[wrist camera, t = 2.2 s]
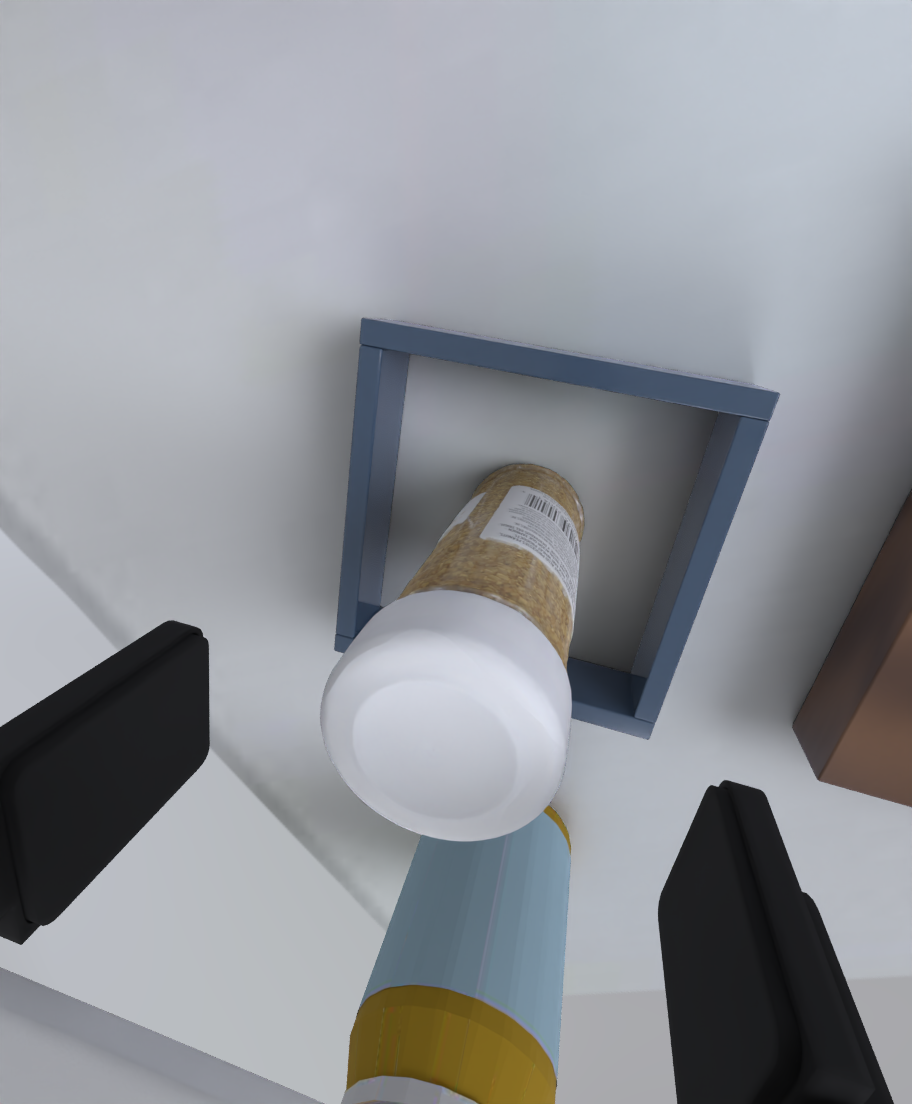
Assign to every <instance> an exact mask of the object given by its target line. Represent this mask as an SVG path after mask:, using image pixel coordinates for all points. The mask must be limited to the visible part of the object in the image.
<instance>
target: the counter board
mask: <svg viewBox="0 0 912 1104" xmlns="http://www.w3.org/2000/svg"><path fill="white" fill-rule="evenodd" d="M792 728H793V730H794V732H795V734H796V736H797V738H798V741H799V743H800V745H801V747H802V749H803V751H804V753H805V755H806V757H807V759H808V761H809V763H810V765H811V768H812V770H813V772H814V774H815V776H816V778H817V780H819V781H821V782H825V783H828V784H832V785H835V786H839V787H842V788H846V789H849V790H853V791H857V792H860V793H864V794H867V795H871V796H874V797H878V798H881V799H885V800H888V801H892V802H895V803H899V804H903V805H906V806H910V807H912V490H911V492H910V494H909V496H908V498H907V500H906V502H905V504H904V506H903V507H902V509H901V511H900V513H899V515H898V517H897V519H896V521H895V523H894V525H893V527H892V529H891V531H890V533H889V535H888V537H887V539H886V541H885V543H884V545H883V547H882V549H881V551H880V553H879V555H878V557H877V559H876V561H875V563H874V565H873V567H872V569H871V571H870V573H869V575H868V577H867V579H866V581H865V583H864V585H863V587H862V589H861V591H860V593H859V595H858V597H857V599H856V601H855V603H854V605H853V607H852V609H851V611H850V613H849V615H848V617H847V619H846V621H845V623H844V625H843V627H842V629H841V631H840V633H839V635H838V637H837V638H836V640H835V642H834V644H833V646H832V648H831V650H830V652H829V654H828V656H827V658H826V660H825V662H824V664H823V666H822V668H821V670H820V672H819V674H818V676H817V678H816V680H815V682H814V684H813V686H812V688H811V690H810V692H809V694H808V696H807V698H806V700H805V702H804V704H803V706H802V708H801V710H800V712H799V714H798V716H797V718H796V720H795V722H794V724H793V726H792Z"/></svg>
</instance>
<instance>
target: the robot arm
mask: <svg viewBox="0 0 912 1104" xmlns="http://www.w3.org/2000/svg"><path fill="white" fill-rule="evenodd" d="M209 746H210V741H209V644H208V640H207V639H206V638H204V637H203V633H202V631H201V629H199V628H197V627H194V626H191V625H187V624H184V623H180V622H177V621H167V622H164V623H163V624H161V625H160V626H158V627H156V628H155V629H153V630H152V631H150V632H149V633H147V634H145V635H144V636H142V637H141V638H139V639H138V640H136V641H134V642H133V643H131V644H130V645H128V646H127V647H125V648H123V649H122V650H120V651H119V652H117V653H116V654H114V655H112V656H111V657H109V658H108V659H106V660H105V661H103V662H102V663H100V664H98V665H97V666H95V667H94V668H92V669H91V670H89V671H87V672H86V673H84V674H83V675H81V676H80V677H78V678H76V679H75V680H73V681H72V682H70V683H69V684H67V685H65V686H64V687H62V688H61V689H59V690H58V691H56V692H54V693H53V694H51V695H50V696H48V697H47V698H45V699H44V700H42V701H40V702H39V703H37V704H36V705H34V706H32V707H31V708H29V709H28V710H26V711H25V712H23V713H22V714H20V715H18V716H17V717H15V718H14V719H12V720H10V721H9V722H7V723H6V724H4V725H3V726H1V727H0V936H1V937H3V938H6V939H8V940H11V941H13V942H16V943H18V944H20V945H22V944H23V943H24V942H25V941H26V940H27V939H28V938H29V937H30V936H31V935H32V934H33V932H34V931H35V930H36V929H37V928H38V927H39V926H40V925H42V926H44V925H48V924H50V923H51V922H53V921H54V920H55V919H56V918H57V917H58V916H59V915H60V914H61V913H62V912H63V911H64V910H65V909H66V908H67V907H68V906H69V905H70V904H71V903H72V902H73V901H74V899H75V898H76V897H77V896H78V895H79V894H80V893H81V892H82V891H83V890H84V889H85V888H86V887H87V886H88V885H89V884H90V882H92V881H93V880H94V878H95V877H96V876H97V875H98V874H99V873H100V872H101V871H102V870H103V869H104V868H105V867H106V866H107V865H108V863H110V862H111V860H112V859H113V858H114V857H115V856H116V855H117V854H118V853H119V852H120V851H121V850H122V849H123V848H124V847H125V846H126V845H127V844H128V842H129V841H130V840H131V839H132V838H133V837H134V836H135V835H136V834H137V833H138V832H139V831H140V830H141V829H142V828H143V827H144V826H145V824H146V823H147V822H148V821H149V820H150V819H151V818H152V817H153V816H154V815H155V814H156V813H157V812H158V811H159V810H160V809H161V808H162V807H163V806H164V804H165V803H166V802H167V801H168V800H169V799H170V798H171V797H172V796H173V795H174V794H175V793H176V792H177V791H178V790H179V789H180V788H181V786H182V785H183V784H184V783H185V782H186V781H187V780H188V779H189V778H190V777H191V776H192V775H193V774H194V773H195V772H196V771H197V770H198V769H199V767H200V766H201V765H202V764H203V762H204V760H205V759H206V757H207V755H208V751H209ZM658 922H659V932H660V941H661V951H662V960H663V970H664V980H665V989H666V998H667V1008H668V1018H669V1028H670V1036H671V1047H672V1056H673V1066H674V1076H675V1085H676V1094H677V1104H894V1103H893V1100H892V1097H891V1095H890V1092H889V1090H888V1087H887V1085H886V1082H885V1080H884V1077H883V1074H882V1072H881V1069H880V1067H879V1064H878V1062H877V1059H876V1056H875V1054H874V1051H873V1049H872V1046H871V1044H870V1041H869V1038H868V1036H867V1033H866V1031H865V1028H864V1026H863V1023H862V1020H861V1018H860V1016H859V1013H858V1010H857V1008H856V1005H855V1002H854V1000H853V998H852V995H851V992H850V990H849V987H848V985H847V982H846V979H845V977H844V974H843V972H842V969H841V967H840V964H839V961H838V959H837V956H836V954H835V951H834V949H833V946H832V943H831V941H830V938H829V936H828V933H827V931H826V928H825V926H824V923H823V920H822V918H821V915H820V913H819V910H818V908H817V906H816V904H815V903H814V901H813V899H812V898H811V897H810V896H809V895H808V894H807V893H804V892H802V891H801V888H800V886H799V883H798V880H797V878H796V875H795V872H794V870H793V867H792V864H791V862H790V859H789V856H788V853H787V851H786V848H785V845H784V843H783V840H782V837H781V835H780V832H779V829H778V827H777V824H776V821H775V819H774V816H773V813H772V811H771V808H770V805H769V802H768V800H767V797H766V795H765V794H764V792H763V791H761V790H759V789H756V788H752V787H749V786H745V785H742V784H738V783H735V782H731V781H728V780H724V781H723V782H722V783H721V784H720V785H719V787H716V786H713V785H711V786H709V787H708V788H707V790H706V792H705V794H704V797H703V799H702V801H701V804H700V806H699V808H698V810H697V813H696V815H695V817H694V820H693V822H692V824H691V826H690V829H689V831H688V833H687V836H686V838H685V840H684V842H683V845H682V847H681V849H680V851H679V854H678V856H677V858H676V861H675V863H674V865H673V867H672V870H671V872H670V874H669V877H668V879H667V881H666V883H665V886H664V888H663V890H662V893H661V896H660V900H659V906H658ZM0 1104H324V1103H322V1102H320V1101H317V1100H315V1099H313V1098H310V1097H308V1096H306V1095H303V1094H301V1093H298V1092H296V1091H294V1090H292V1089H289V1088H287V1087H284V1086H282V1085H280V1084H277V1083H275V1082H273V1081H270V1080H268V1079H265V1078H263V1077H261V1076H259V1075H256V1074H254V1073H252V1072H249V1071H247V1070H244V1069H242V1068H240V1067H237V1066H235V1065H233V1064H230V1063H228V1062H225V1061H223V1060H221V1059H218V1058H216V1057H214V1056H211V1055H209V1054H207V1053H204V1052H202V1051H199V1050H197V1049H195V1048H192V1047H190V1046H187V1045H185V1044H183V1043H180V1042H178V1041H176V1040H173V1039H171V1038H169V1037H166V1036H164V1035H161V1034H159V1033H157V1032H154V1031H152V1030H150V1029H147V1028H145V1027H142V1026H140V1025H138V1024H135V1023H133V1022H130V1021H128V1020H126V1019H123V1018H121V1017H119V1016H116V1015H114V1014H111V1013H109V1012H107V1011H104V1010H102V1009H99V1008H97V1007H95V1006H92V1005H90V1004H87V1003H85V1002H82V1001H80V1000H78V999H75V998H73V997H71V996H68V995H65V994H63V993H61V992H58V991H56V990H54V989H51V988H49V987H46V986H44V985H42V984H39V983H37V982H34V981H32V980H30V979H27V978H25V977H22V976H20V975H17V974H15V973H13V972H10V971H8V970H5V969H3V968H1V967H0Z"/></svg>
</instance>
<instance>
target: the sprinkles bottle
mask: <svg viewBox="0 0 912 1104" xmlns="http://www.w3.org/2000/svg"><path fill="white" fill-rule="evenodd" d="M583 530H584V513H583V507H582V505H581V503H580V501H579V498H578V496H577V494H576V493H575V491H574V490H573V488H572V486H571V485H570V484H569V483H568V482H567V481H566V480H565V479H564V478H562V477H561V476H560V475H558V474H557V473H556V472H554V471H552V470H550V469H547V468H544V467H541V466H536V465H534V464H514V465H509V466H506V467H503V468H501V469H499V470H497V471H495V472H494V473H492V474H490V475H489V476H488V477H487V478H486V479H485V480H484V481H483V482H482V483H481V484H480V485H479V486H478V487H477V488H476V490H475V491H474V493H473V495H472V498H471V500H470V502H468V503H467V504H466V505H465V506H464V508H463V509H462V510H461V511H460V512H459V514H458V515H457V516H456V517H455V519H454V520H453V521H452V523H451V524H450V526H449V527H448V528H447V529H446V531H445V532H444V534H443V535H442V536H441V538H440V539H439V541H438V542H437V544H436V547H435V549H434V550H433V552H432V553H431V555H430V556H429V557H428V558H427V560H426V561H425V563H424V564H423V565H422V567H421V568H420V569H419V570H418V572H417V573H416V575H415V576H414V577H413V579H412V580H411V581H410V582H409V583H408V585H407V586H406V588H405V589H404V591H403V593H402V594H401V595H400V597H399V598H398V599H397V600H396V601H394V602H392V603H390V604H389V605H387V606H386V607H384V608H383V609H381V610H380V611H379V612H378V613H377V614H375V615H374V616H373V617H372V618H371V620H370V621H369V622H368V623H367V624H366V625H365V626H364V628H363V629H362V630H361V632H360V633H359V634H358V635H357V637H356V638H355V639H354V640H353V642H352V643H351V644H350V646H349V647H348V649H347V650H346V651H345V653H344V654H343V656H342V657H341V658H340V660H339V661H338V663H337V664H336V666H335V667H334V669H333V670H332V672H331V674H330V676H329V678H328V681H327V683H326V686H325V689H324V693H323V696H322V702H321V712H320V719H321V729H322V735H323V739H324V743H325V746H326V749H327V752H328V754H329V757H330V759H331V761H332V762H333V764H334V766H335V768H336V769H337V771H338V773H339V775H340V776H341V777H342V779H343V780H344V781H345V783H346V784H347V785H348V786H349V787H350V789H351V790H352V791H353V792H354V793H355V794H356V795H357V796H358V797H359V798H360V799H361V800H362V801H363V802H364V803H365V804H366V805H368V806H369V807H370V808H372V809H373V810H374V811H376V812H377V813H378V814H380V815H381V816H383V817H384V818H386V819H388V820H390V821H391V822H393V823H395V824H397V825H399V826H401V827H403V828H405V829H408V830H410V831H413V832H415V833H418V834H422V835H425V836H429V837H433V838H437V839H443V840H450V841H480V840H486V839H492V838H497V837H500V836H503V835H506V834H509V833H511V832H514V831H516V830H518V829H520V828H522V827H523V826H525V825H527V824H528V823H530V822H531V821H532V820H534V819H535V818H536V817H537V816H539V815H540V814H541V813H542V812H543V811H544V809H545V808H546V807H547V806H548V805H549V804H550V802H551V800H552V799H553V797H554V795H555V794H556V792H557V790H558V788H559V786H560V783H561V781H562V778H563V775H564V770H565V766H566V759H567V751H568V744H569V736H570V726H571V711H572V698H571V688H570V683H569V679H568V675H567V661H568V652H569V646H570V643H571V640H572V635H573V629H574V618H575V608H576V597H577V586H578V575H579V560H580V544H579V542H580V541H581V539H582V535H583Z"/></svg>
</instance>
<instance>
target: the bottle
mask: <svg viewBox="0 0 912 1104" xmlns="http://www.w3.org/2000/svg"><path fill="white" fill-rule="evenodd" d="M570 855H571V845H570V839H569V834H568V831H567V829H566V827H565V825H564V824H563V822H562V820H561V819H560V817H559V815H558V814H557V813H556V812H555V811H554V810H553V809H552V808H551V807H550V806H549V805H548V806H547V807H546V808H545V809H544V811H543V812H542V813H541V814H540V815H539V816H537V817H536V818H535V819H534V820H532V821H531V822H530V823H528V824H527V825H525V826H523V827H522V828H520V829H518V830H516V831H514V832H511V833H509V834H506V835H503V836H500V837H497V838H492V839H486V840H480V841H450V840H443V839H437V838H433V837H429V836H425V835H422V836H421V838H420V841H419V844H418V847H417V849H416V852H415V855H414V858H413V860H412V863H411V866H410V869H409V871H408V874H407V877H406V880H405V883H404V885H403V888H402V891H401V894H400V896H399V899H398V902H397V905H396V907H395V910H394V913H393V916H392V919H391V921H390V924H389V927H388V930H387V932H386V935H385V938H384V941H383V943H382V946H381V949H380V952H379V955H378V957H377V960H376V963H375V966H374V968H373V971H372V974H371V977H370V979H369V982H368V985H367V988H366V990H365V993H364V996H363V999H362V1002H361V1004H360V1007H359V1010H358V1013H357V1016H356V1020H355V1023H354V1026H353V1029H352V1032H351V1035H350V1045H349V1059H348V1074H347V1089H346V1091H345V1094H344V1097H343V1100H342V1102H341V1104H555V1093H556V1092H555V1091H556V1087H557V1073H558V1058H559V1042H560V1026H561V1009H562V993H563V977H564V961H565V945H566V929H567V912H568V896H569V880H570V864H571V857H570Z"/></svg>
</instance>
